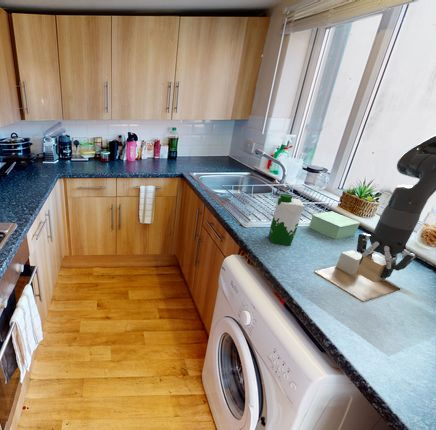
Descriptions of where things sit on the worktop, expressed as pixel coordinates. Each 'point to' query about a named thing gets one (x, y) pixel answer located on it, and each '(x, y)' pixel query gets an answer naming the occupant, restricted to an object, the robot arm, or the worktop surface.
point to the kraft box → (372, 267)
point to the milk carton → (285, 220)
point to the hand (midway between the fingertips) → (372, 271)
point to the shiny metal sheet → (356, 284)
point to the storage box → (334, 225)
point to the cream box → (349, 261)
